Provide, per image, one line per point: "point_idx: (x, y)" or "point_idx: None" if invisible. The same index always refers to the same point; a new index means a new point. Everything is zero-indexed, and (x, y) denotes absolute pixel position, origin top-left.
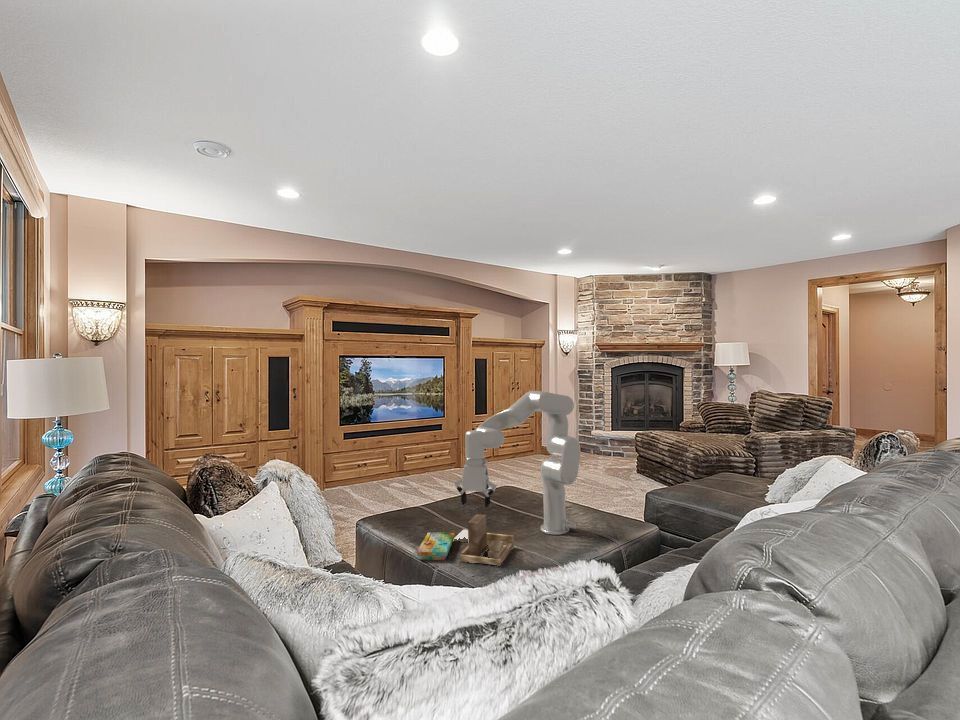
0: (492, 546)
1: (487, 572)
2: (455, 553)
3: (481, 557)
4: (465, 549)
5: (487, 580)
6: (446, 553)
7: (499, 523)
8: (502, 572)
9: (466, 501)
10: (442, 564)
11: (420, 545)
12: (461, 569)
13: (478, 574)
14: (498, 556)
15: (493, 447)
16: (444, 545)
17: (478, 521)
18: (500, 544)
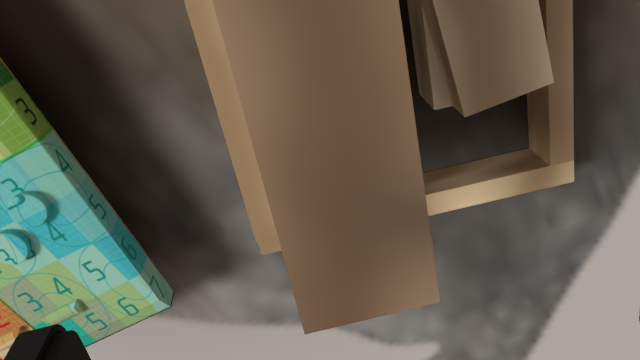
0: (484, 95)
1: (504, 260)
2: (136, 138)
3: (429, 205)
4: (251, 177)
5: (542, 328)
6: (170, 303)
7: None
8: (591, 217)
9: (67, 347)
10: (186, 313)
11: None
12: None
13: (465, 302)
14: None
15: None
16: (66, 243)
17: (419, 243)
18: (537, 18)
